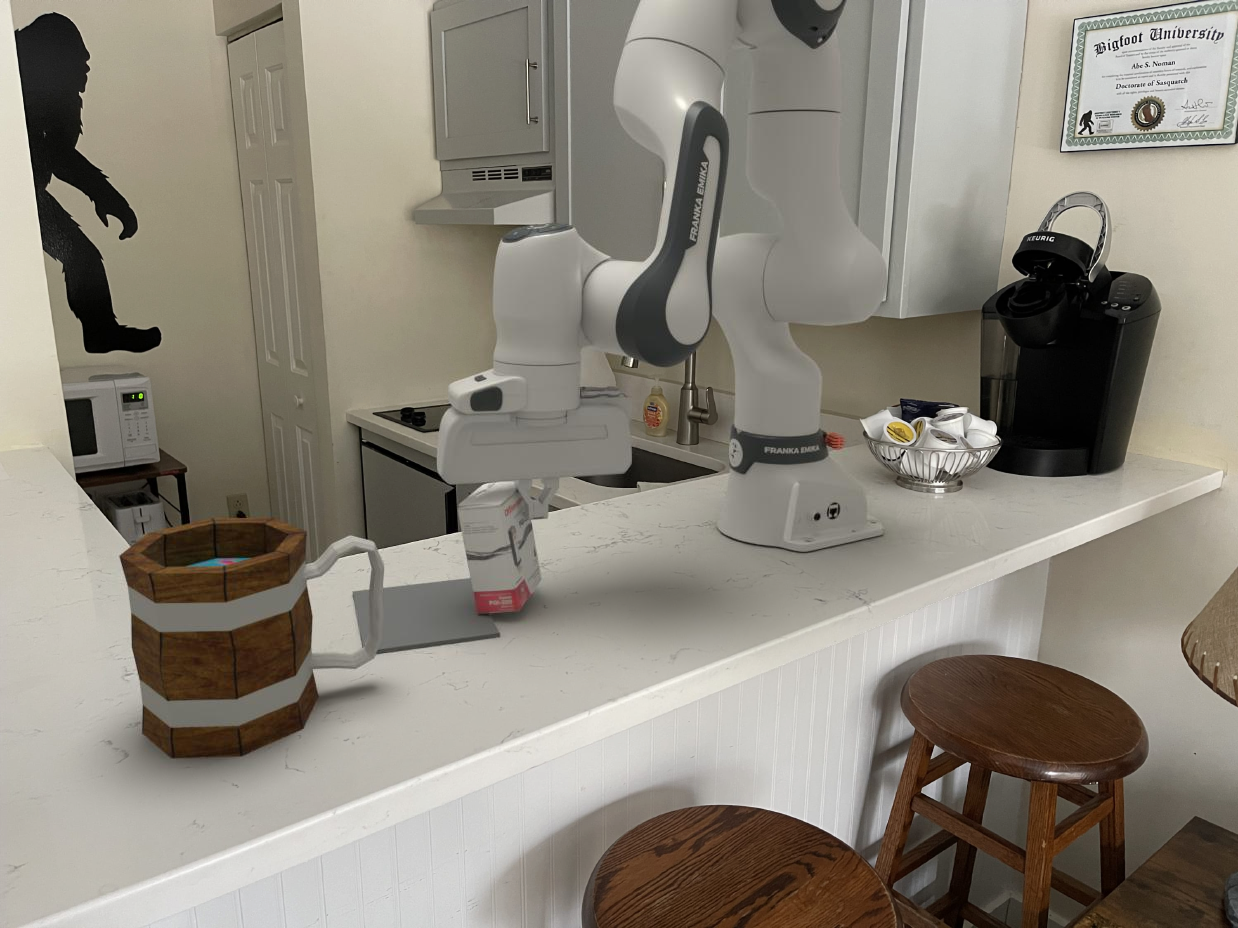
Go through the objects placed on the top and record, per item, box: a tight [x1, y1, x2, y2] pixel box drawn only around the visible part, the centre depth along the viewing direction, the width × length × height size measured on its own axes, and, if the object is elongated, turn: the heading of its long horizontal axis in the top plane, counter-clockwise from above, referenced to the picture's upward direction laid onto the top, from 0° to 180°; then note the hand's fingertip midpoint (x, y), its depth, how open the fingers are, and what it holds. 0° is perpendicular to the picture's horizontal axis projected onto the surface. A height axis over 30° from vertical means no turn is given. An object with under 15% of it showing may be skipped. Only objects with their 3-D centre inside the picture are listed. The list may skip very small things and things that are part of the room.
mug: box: [118, 517, 385, 759], centre depth 74 cm, size 20×14×15 cm
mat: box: [352, 577, 501, 655], centre depth 94 cm, size 13×15×1 cm
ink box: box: [457, 481, 543, 614], centre depth 95 cm, size 9×5×12 cm, turn 168°
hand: (536, 518), depth 95 cm, fingers closed
